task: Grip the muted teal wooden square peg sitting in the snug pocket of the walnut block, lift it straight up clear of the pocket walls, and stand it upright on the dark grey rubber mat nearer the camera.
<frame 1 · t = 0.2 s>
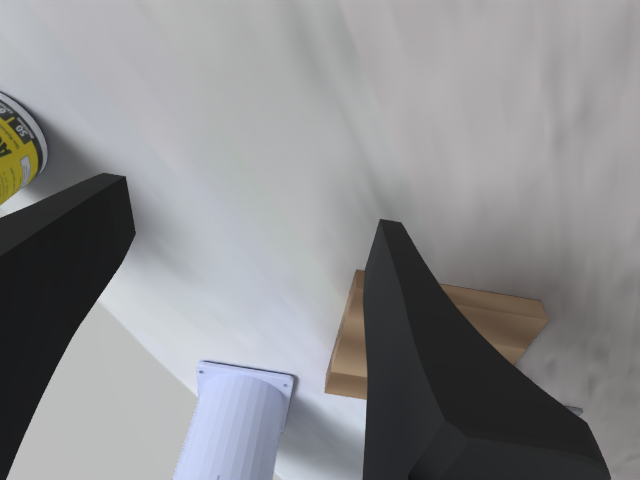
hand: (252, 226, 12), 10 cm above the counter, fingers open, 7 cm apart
supplement bottle: (1, 130, 22), on the counter
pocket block: (420, 342, 30), on the counter
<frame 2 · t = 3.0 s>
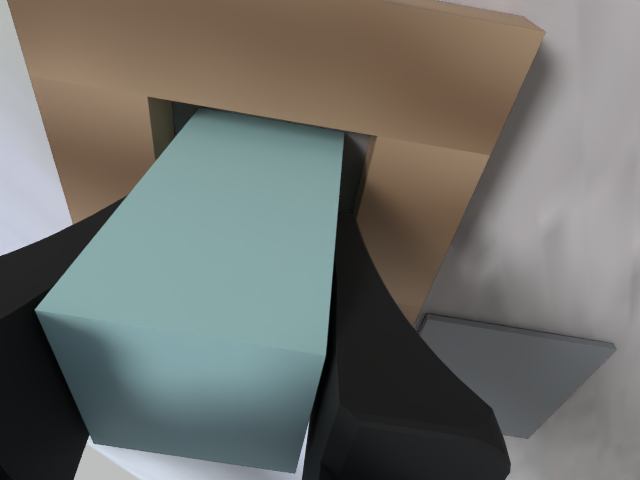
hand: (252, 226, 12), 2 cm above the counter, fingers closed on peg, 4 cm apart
peg: (239, 262, 11), in the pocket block, touching gripper
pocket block: (267, 183, 14), on the counter
rubber mat: (483, 381, 20), on the counter
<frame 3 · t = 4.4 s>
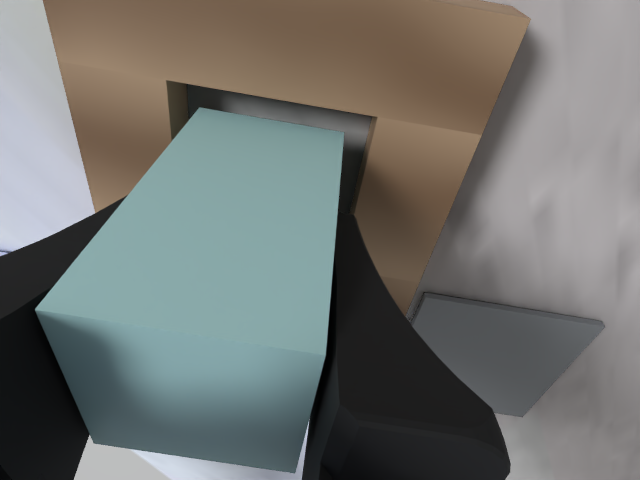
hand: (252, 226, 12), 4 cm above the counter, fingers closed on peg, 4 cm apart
peg: (239, 262, 11), point 5 cm above the counter, touching gripper
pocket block: (274, 164, 15), on the counter
rubber mat: (478, 359, 21), on the counter
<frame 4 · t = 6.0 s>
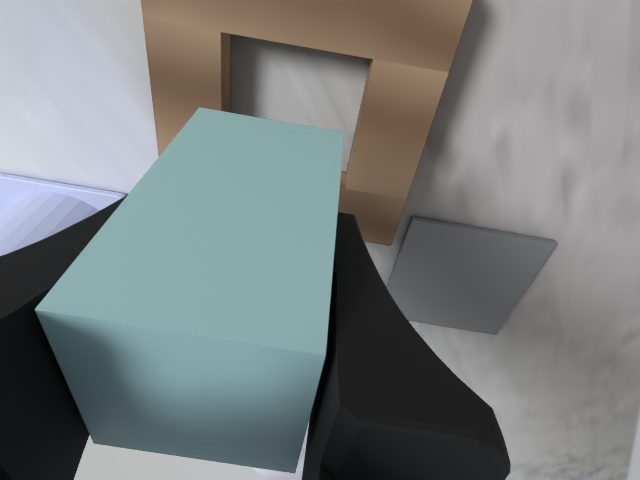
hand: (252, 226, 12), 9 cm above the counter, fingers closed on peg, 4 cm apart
peg: (239, 262, 11), point 11 cm above the counter, touching gripper
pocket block: (294, 105, 19), on the counter
rubber mat: (457, 279, 25), on the counter
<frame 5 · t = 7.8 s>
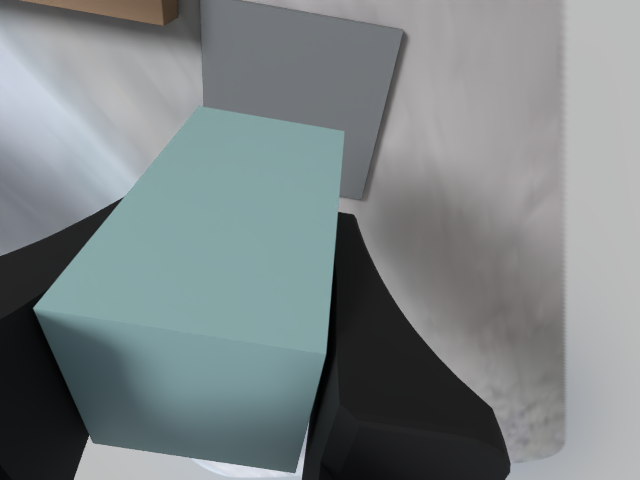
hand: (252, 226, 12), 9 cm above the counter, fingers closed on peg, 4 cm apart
peg: (239, 261, 11), point 10 cm above the counter, touching gripper
rubber mat: (292, 109, 19), on the counter
when the fingers open (4 cm above the counter, at t = 9.3 s): peg drops 1 cm, resting on rubber mat.
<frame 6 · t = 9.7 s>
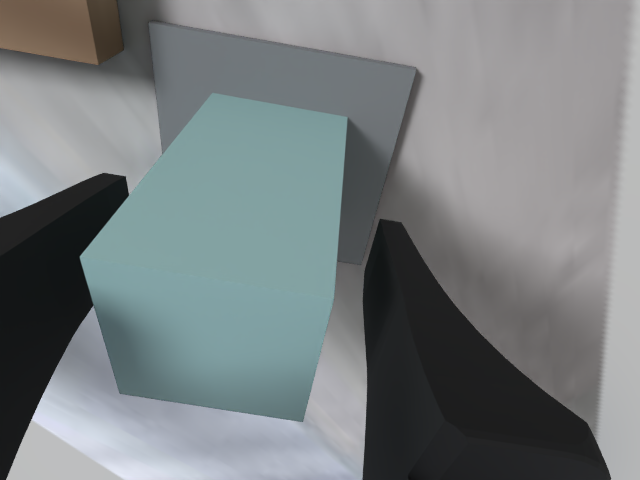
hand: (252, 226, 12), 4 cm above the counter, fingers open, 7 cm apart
peg: (251, 234, 12), resting on rubber mat
rubber mat: (275, 161, 15), on the counter
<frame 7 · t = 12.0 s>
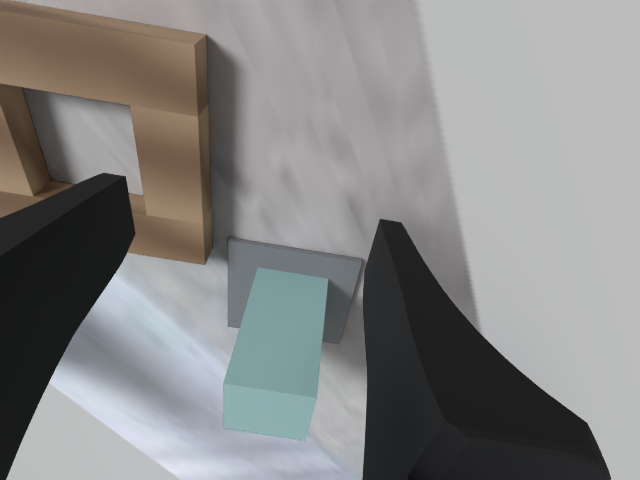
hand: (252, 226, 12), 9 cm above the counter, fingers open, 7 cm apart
peg: (279, 348, 24), resting on rubber mat
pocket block: (93, 140, 21), on the counter
rubber mat: (289, 293, 27), on the counter
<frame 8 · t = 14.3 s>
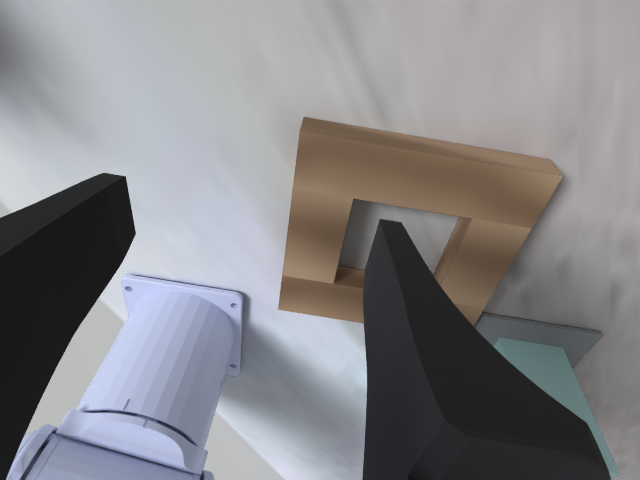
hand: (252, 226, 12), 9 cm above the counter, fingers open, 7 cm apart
peg: (534, 415, 26), resting on rubber mat
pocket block: (395, 235, 23), on the counter
rubber mat: (514, 357, 29), on the counter
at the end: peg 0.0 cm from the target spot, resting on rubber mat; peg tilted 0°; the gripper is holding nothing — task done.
